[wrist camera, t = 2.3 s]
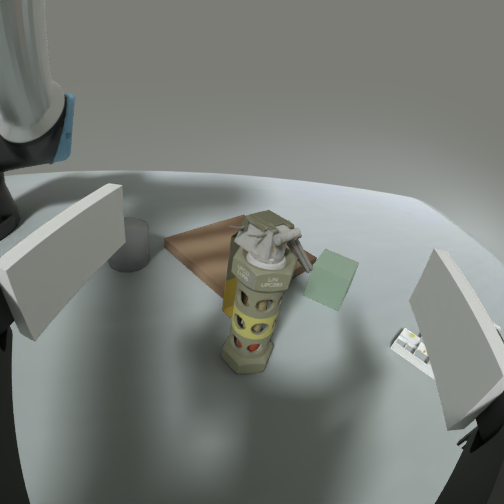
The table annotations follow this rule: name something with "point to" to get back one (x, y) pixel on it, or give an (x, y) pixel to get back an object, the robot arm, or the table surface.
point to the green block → (330, 279)
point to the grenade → (258, 286)
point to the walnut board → (212, 252)
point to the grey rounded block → (132, 247)
